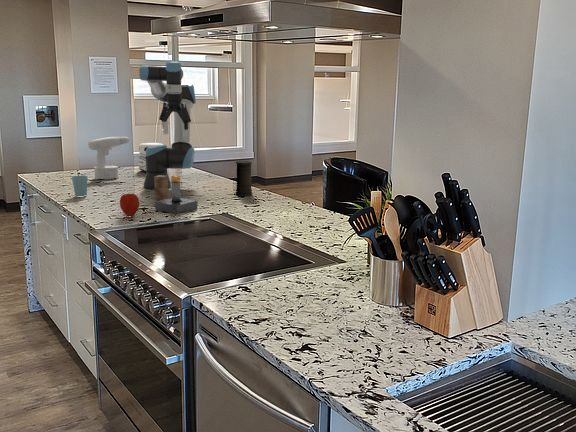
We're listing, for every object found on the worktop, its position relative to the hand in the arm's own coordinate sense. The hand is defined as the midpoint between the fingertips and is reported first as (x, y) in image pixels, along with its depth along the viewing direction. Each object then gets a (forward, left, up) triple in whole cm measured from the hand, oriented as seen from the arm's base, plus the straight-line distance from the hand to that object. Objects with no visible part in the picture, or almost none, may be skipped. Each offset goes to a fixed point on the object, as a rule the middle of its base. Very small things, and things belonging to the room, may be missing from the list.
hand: (175, 135), depth 295 cm
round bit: (+23, -24, -32) cm, 46 cm away
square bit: (+1, -12, -32) cm, 34 cm away
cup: (-36, -33, -32) cm, 58 cm away
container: (+27, +23, -32) cm, 48 cm away
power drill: (-67, +12, -32) cm, 75 cm away
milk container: (-66, +45, -32) cm, 86 cm away
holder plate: (+23, -24, -32) cm, 46 cm away
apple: (+17, -47, -32) cm, 59 cm away
